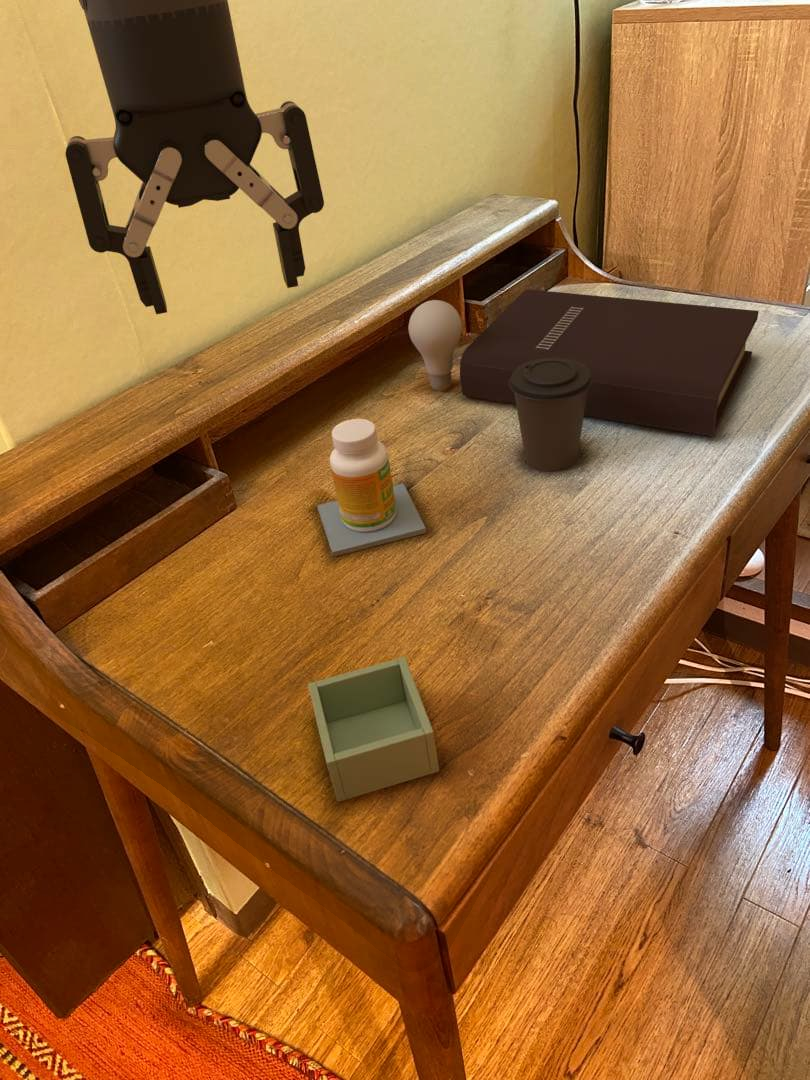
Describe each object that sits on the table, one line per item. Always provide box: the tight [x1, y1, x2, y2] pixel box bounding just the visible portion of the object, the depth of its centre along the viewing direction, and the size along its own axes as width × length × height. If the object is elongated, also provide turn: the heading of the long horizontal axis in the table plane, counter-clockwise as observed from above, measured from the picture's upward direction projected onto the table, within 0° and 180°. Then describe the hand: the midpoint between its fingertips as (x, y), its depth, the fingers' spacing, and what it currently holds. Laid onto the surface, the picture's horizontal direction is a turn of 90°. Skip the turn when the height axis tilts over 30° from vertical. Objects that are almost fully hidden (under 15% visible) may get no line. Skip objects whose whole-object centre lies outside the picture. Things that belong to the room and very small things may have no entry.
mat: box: [316, 483, 427, 558], centre depth 79 cm, size 9×8×1 cm
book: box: [459, 288, 759, 438], centre depth 94 cm, size 28×20×6 cm
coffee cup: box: [508, 358, 593, 472], centre depth 82 cm, size 8×8×10 cm
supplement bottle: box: [329, 418, 396, 532], centre depth 76 cm, size 5×5×10 cm
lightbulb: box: [408, 299, 463, 392], centre depth 95 cm, size 6×6×11 cm
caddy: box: [307, 656, 440, 803], centre depth 57 cm, size 7×7×4 cm
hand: (226, 296), depth 54 cm, fingers open, 8 cm apart
